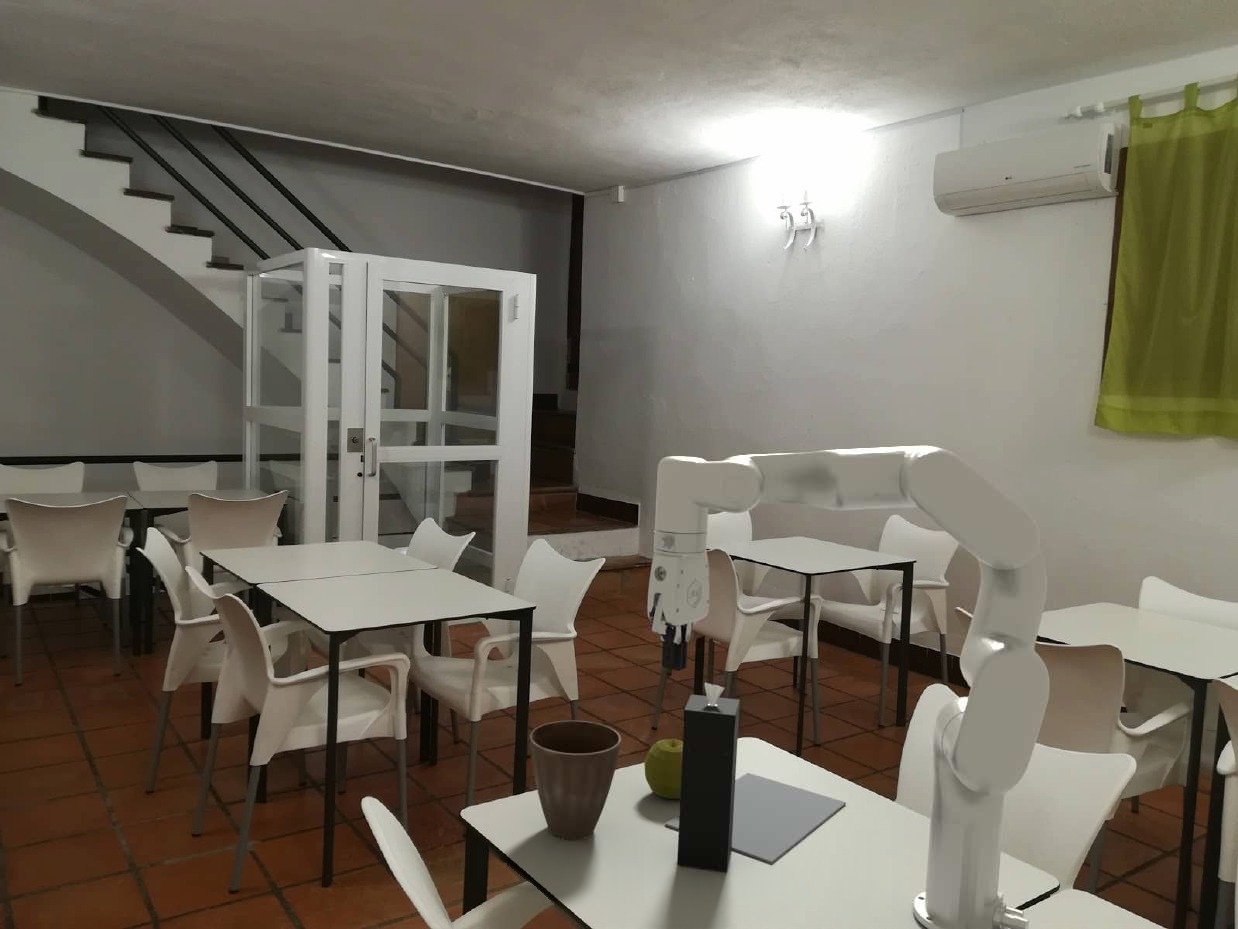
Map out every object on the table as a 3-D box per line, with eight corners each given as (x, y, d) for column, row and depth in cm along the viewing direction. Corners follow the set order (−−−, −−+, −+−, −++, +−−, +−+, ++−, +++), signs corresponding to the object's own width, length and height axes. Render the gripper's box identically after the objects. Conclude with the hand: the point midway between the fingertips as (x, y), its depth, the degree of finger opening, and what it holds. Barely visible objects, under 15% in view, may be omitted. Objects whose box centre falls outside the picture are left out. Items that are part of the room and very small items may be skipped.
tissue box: (727, 873, 147) (736, 694, 145) (676, 866, 148) (684, 688, 146) (731, 850, 155) (741, 679, 152) (683, 843, 156) (691, 674, 154)
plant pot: (635, 836, 158) (639, 741, 157) (560, 861, 149) (564, 760, 147) (581, 803, 170) (585, 715, 168) (509, 824, 160) (512, 731, 159)
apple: (636, 801, 171) (639, 741, 171) (651, 781, 181) (653, 724, 180) (691, 811, 169) (694, 749, 168) (703, 789, 178) (706, 731, 177)
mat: (845, 804, 174) (845, 802, 174) (771, 864, 151) (771, 861, 150) (747, 774, 186) (747, 772, 186) (664, 825, 162) (665, 823, 162)
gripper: (673, 551, 130) (667, 685, 131) (729, 540, 142) (722, 662, 143) (628, 544, 134) (622, 673, 136) (685, 534, 146) (679, 653, 148)
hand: (673, 667), depth 140 cm, fingers closed
